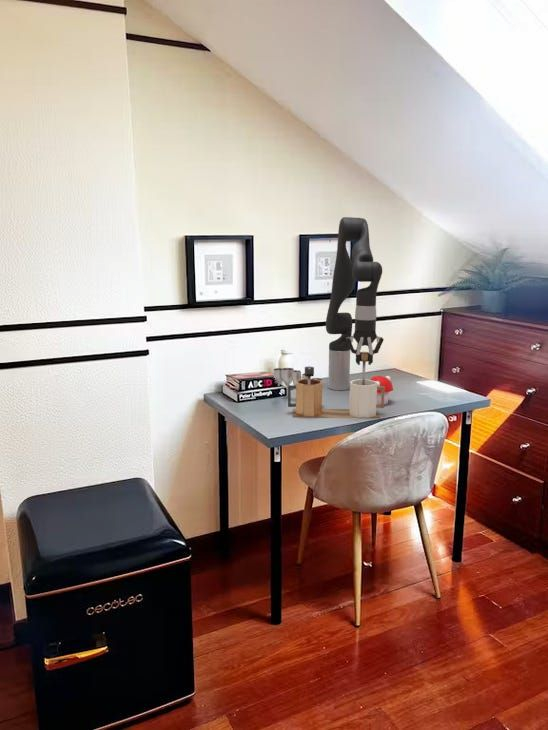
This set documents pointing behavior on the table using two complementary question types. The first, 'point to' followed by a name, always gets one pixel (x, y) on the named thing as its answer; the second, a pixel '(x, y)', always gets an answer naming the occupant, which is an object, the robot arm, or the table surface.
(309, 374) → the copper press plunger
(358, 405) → the cream press
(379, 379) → the mushroom
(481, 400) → the table surface
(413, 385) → the table surface
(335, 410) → the board
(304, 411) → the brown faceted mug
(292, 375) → the goblet set
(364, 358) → the brown plunger
